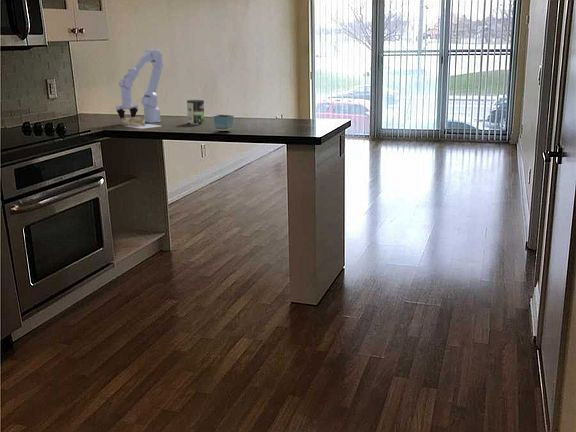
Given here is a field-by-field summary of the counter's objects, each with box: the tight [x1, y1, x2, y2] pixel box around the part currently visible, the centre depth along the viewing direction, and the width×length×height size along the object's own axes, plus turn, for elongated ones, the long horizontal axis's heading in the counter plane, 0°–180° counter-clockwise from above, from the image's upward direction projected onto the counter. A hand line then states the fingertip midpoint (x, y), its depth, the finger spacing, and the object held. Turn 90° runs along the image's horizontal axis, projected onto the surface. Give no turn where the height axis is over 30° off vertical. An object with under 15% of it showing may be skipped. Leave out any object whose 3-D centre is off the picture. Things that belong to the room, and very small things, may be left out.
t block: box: [120, 116, 146, 127], centre depth 360 cm, size 12×12×4 cm
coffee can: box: [186, 99, 205, 124], centre depth 370 cm, size 10×10×14 cm
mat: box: [125, 123, 161, 130], centre depth 357 cm, size 16×16×1 cm
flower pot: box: [213, 114, 234, 129], centre depth 338 cm, size 9×9×9 cm
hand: (127, 121), depth 365 cm, fingers open, 7 cm apart
